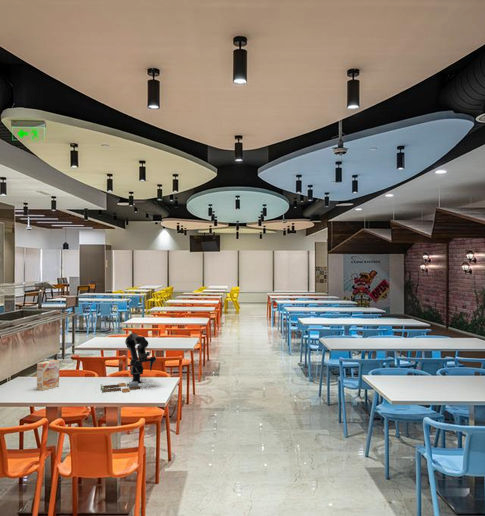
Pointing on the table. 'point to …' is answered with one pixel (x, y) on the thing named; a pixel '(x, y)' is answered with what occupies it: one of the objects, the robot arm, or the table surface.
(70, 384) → the table surface
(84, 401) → the table surface
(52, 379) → the coffeecake box
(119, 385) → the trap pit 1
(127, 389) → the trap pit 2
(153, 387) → the table surface
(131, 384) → the slate block
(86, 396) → the table surface
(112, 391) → the finger box
